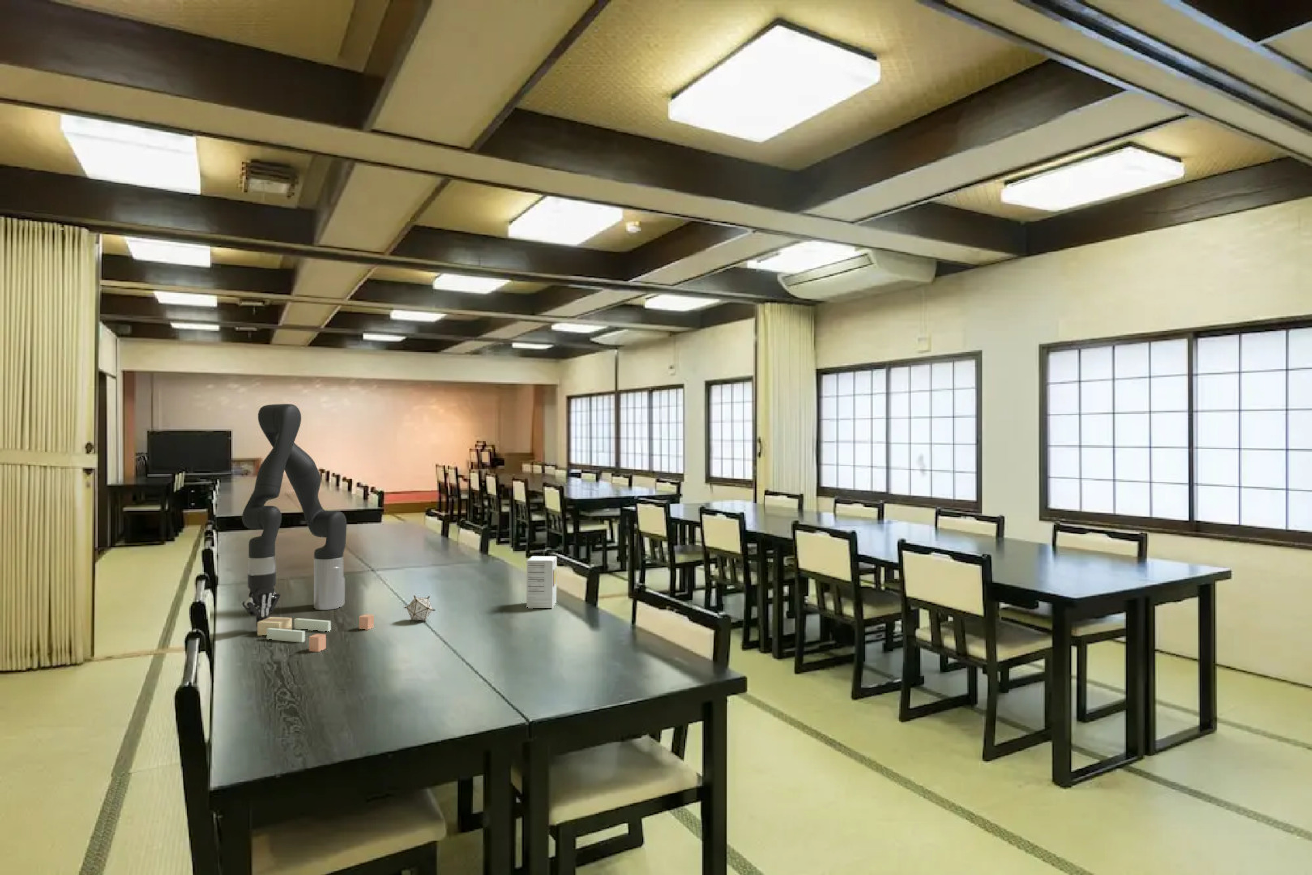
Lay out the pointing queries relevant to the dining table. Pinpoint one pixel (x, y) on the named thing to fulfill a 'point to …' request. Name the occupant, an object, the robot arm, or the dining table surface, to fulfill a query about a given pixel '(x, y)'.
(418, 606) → the game die
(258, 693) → the dining table surface
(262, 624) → the maple block
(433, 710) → the dining table surface
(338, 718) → the dining table surface
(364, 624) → the gate posts
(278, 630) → the white blocks
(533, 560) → the supplement box
